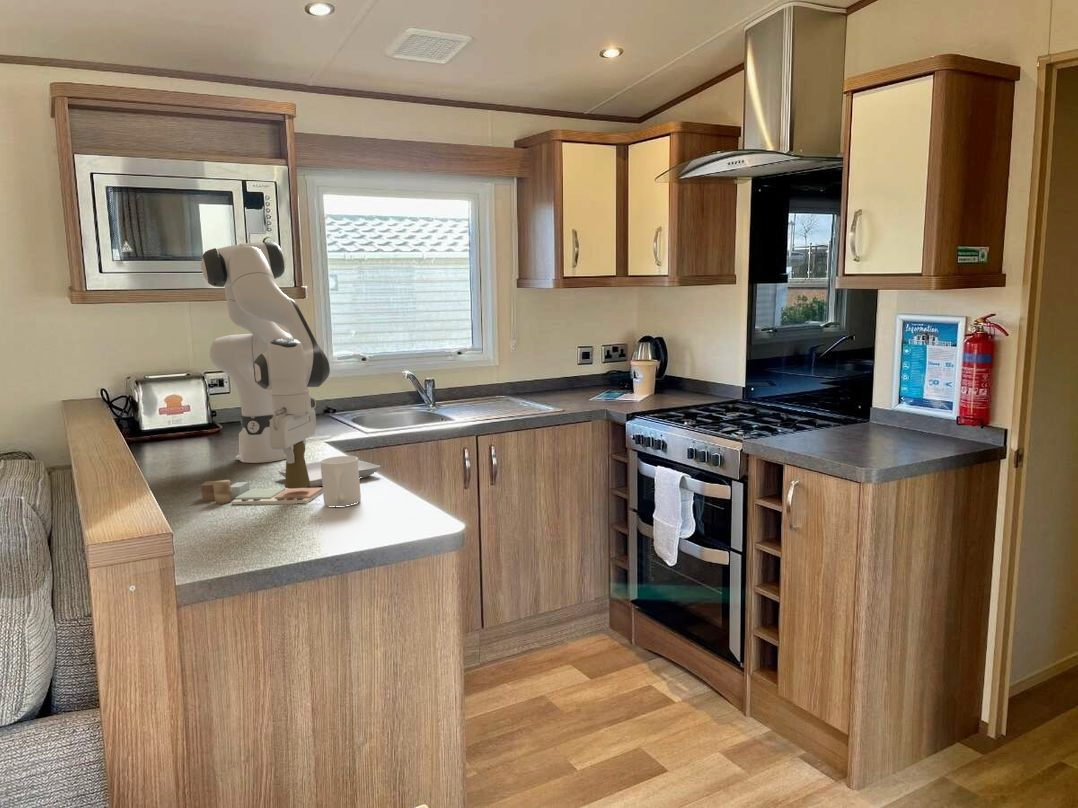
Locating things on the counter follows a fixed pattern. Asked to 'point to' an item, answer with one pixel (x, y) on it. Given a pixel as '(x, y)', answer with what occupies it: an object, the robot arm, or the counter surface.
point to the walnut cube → (208, 491)
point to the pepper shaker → (297, 469)
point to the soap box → (239, 488)
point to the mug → (340, 480)
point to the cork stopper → (222, 491)
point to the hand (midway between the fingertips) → (295, 460)
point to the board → (278, 496)
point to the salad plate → (316, 475)
